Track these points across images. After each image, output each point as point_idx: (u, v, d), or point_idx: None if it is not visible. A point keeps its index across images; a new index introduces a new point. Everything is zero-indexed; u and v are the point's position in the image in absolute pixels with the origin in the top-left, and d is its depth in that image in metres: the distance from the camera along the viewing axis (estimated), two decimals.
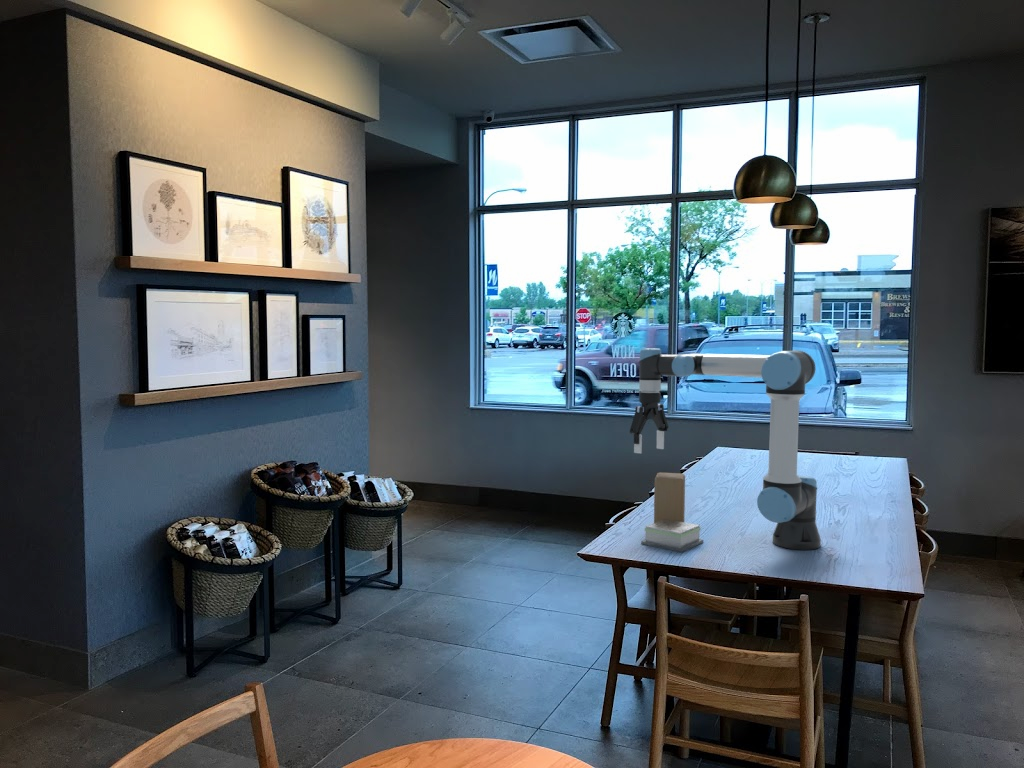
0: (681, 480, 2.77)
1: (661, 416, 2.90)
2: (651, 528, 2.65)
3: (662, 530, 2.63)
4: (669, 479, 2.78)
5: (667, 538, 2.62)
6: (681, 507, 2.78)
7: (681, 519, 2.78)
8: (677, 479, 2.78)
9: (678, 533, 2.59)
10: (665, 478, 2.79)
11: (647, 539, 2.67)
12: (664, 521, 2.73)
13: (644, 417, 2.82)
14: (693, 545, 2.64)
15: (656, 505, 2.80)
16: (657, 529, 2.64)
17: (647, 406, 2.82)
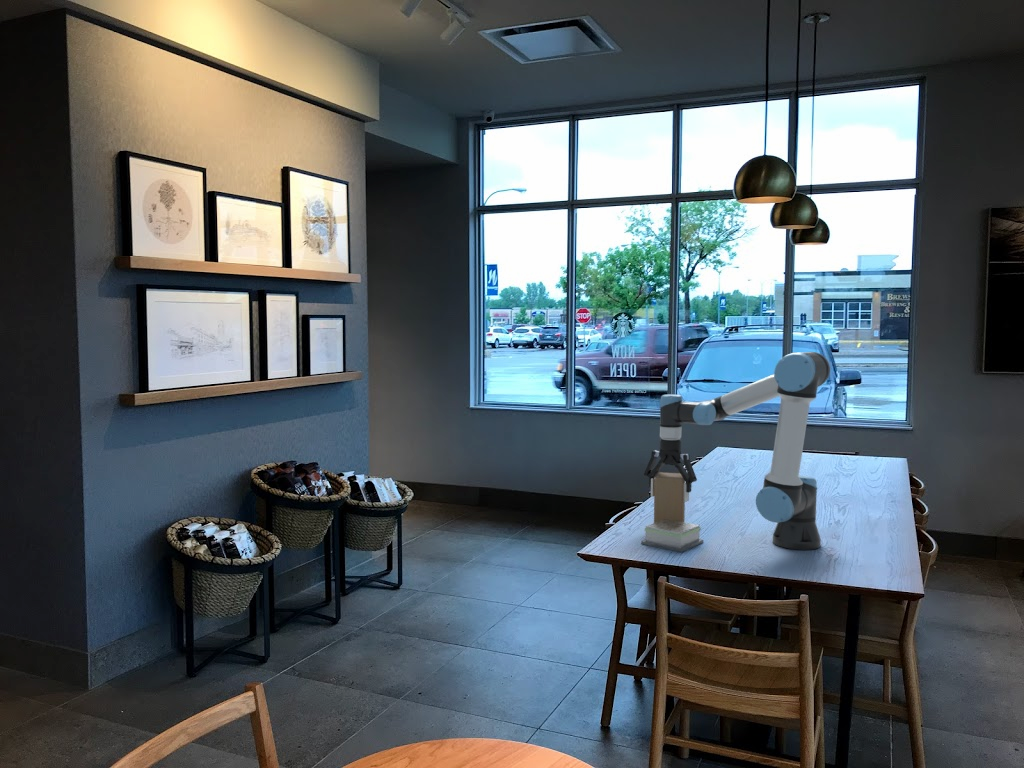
0: (681, 480, 2.77)
1: None
2: (651, 528, 2.65)
3: (662, 530, 2.63)
4: (669, 479, 2.78)
5: (667, 538, 2.62)
6: (681, 507, 2.78)
7: (681, 519, 2.78)
8: (677, 479, 2.78)
9: (678, 533, 2.59)
10: (665, 478, 2.79)
11: (647, 539, 2.67)
12: (664, 521, 2.73)
13: None
14: (693, 545, 2.64)
15: (656, 505, 2.80)
16: (657, 529, 2.64)
17: (661, 451, 2.83)
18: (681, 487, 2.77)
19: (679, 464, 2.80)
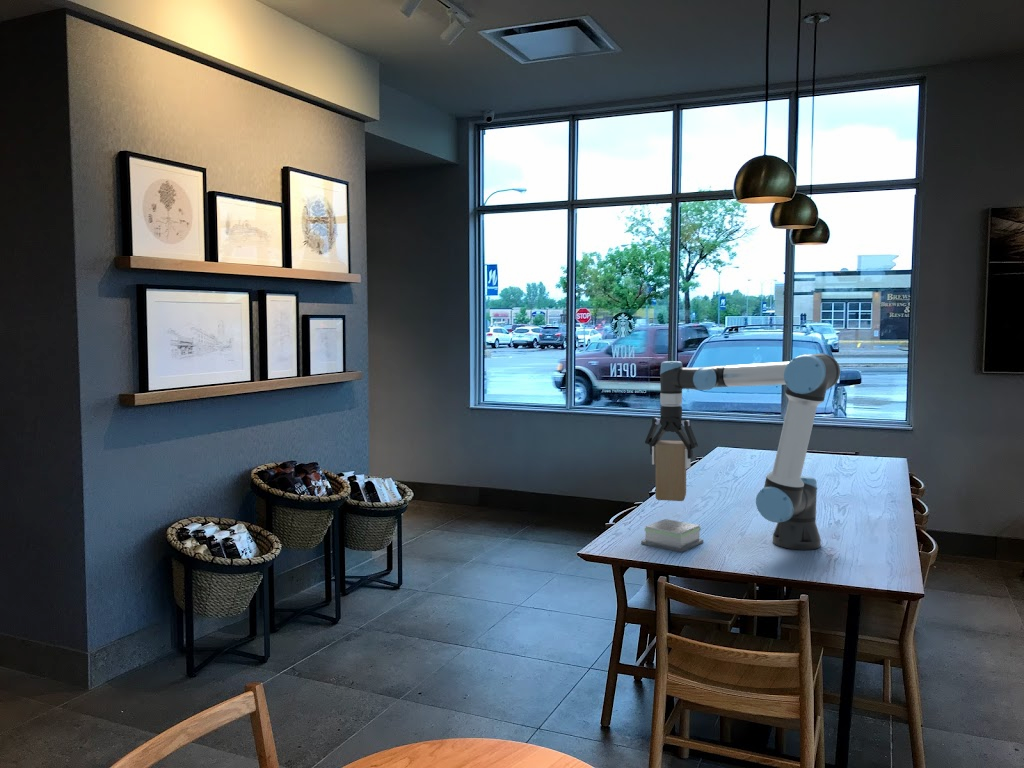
0: (682, 446, 2.76)
1: None
2: (651, 528, 2.65)
3: (662, 530, 2.63)
4: (670, 445, 2.77)
5: (667, 538, 2.62)
6: (682, 473, 2.77)
7: (683, 486, 2.77)
8: (678, 445, 2.77)
9: (678, 533, 2.59)
10: (666, 445, 2.78)
11: (647, 539, 2.67)
12: (664, 521, 2.73)
13: None
14: (693, 545, 2.64)
15: (657, 472, 2.79)
16: (657, 529, 2.64)
17: (662, 419, 2.82)
18: (682, 453, 2.76)
19: (680, 430, 2.79)
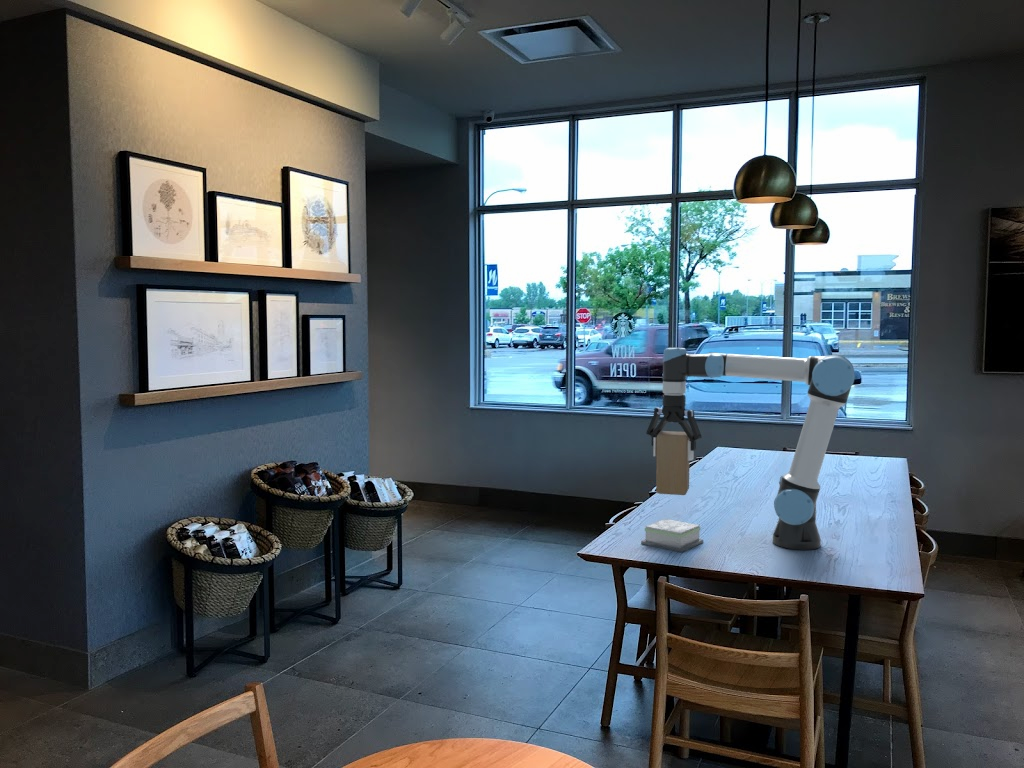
0: (685, 437, 2.62)
1: None
2: (651, 528, 2.65)
3: (662, 530, 2.63)
4: (672, 436, 2.63)
5: (667, 538, 2.62)
6: (685, 466, 2.62)
7: (685, 479, 2.63)
8: (680, 436, 2.62)
9: (678, 533, 2.59)
10: (668, 435, 2.64)
11: (647, 539, 2.67)
12: (664, 521, 2.73)
13: None
14: (693, 545, 2.64)
15: (658, 464, 2.65)
16: (657, 529, 2.64)
17: (664, 408, 2.68)
18: (685, 445, 2.62)
19: (683, 421, 2.64)
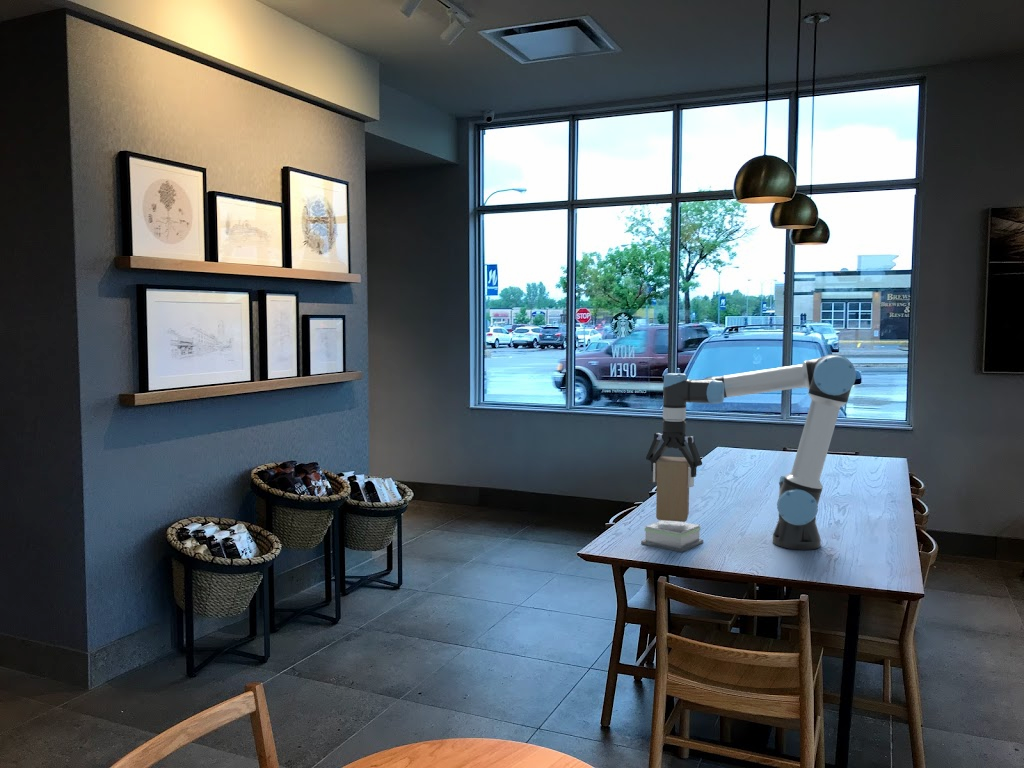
0: (685, 464, 2.60)
1: None
2: (651, 528, 2.65)
3: (662, 530, 2.63)
4: (672, 463, 2.61)
5: (667, 538, 2.62)
6: (685, 493, 2.61)
7: (685, 505, 2.61)
8: (681, 463, 2.61)
9: (678, 533, 2.59)
10: (668, 462, 2.62)
11: (647, 539, 2.67)
12: (664, 521, 2.73)
13: None
14: (693, 545, 2.64)
15: (659, 491, 2.63)
16: (657, 529, 2.64)
17: (664, 434, 2.66)
18: (685, 471, 2.60)
19: (683, 447, 2.63)
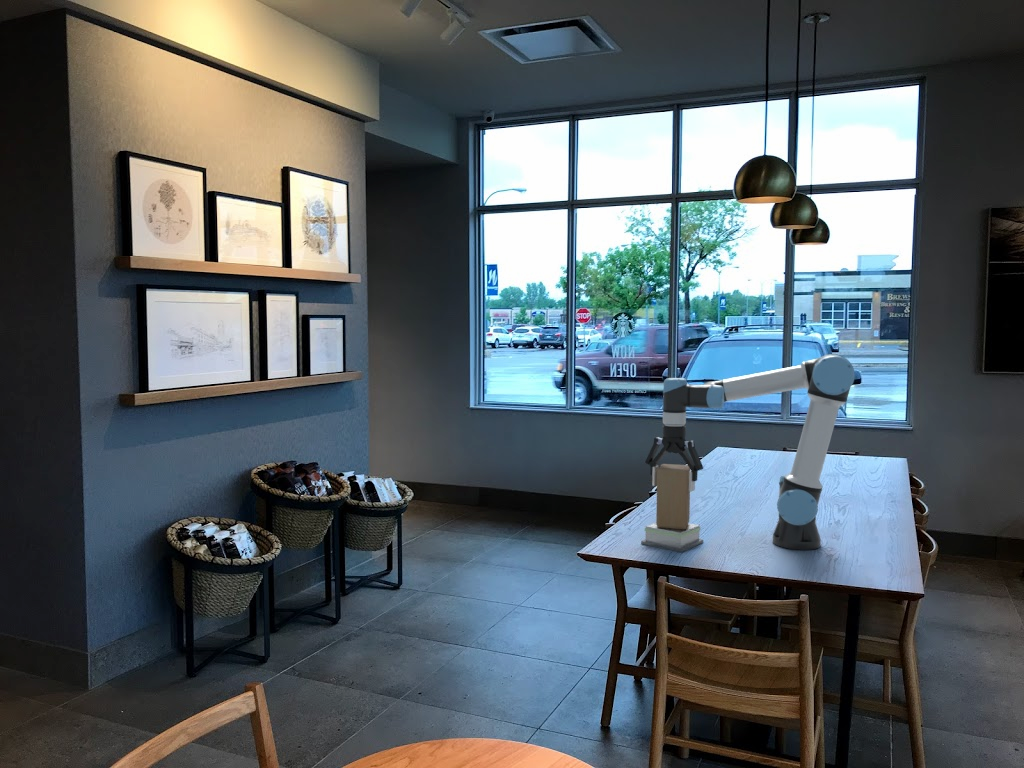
0: (685, 472, 2.60)
1: None
2: (651, 528, 2.65)
3: (662, 530, 2.63)
4: (672, 471, 2.61)
5: (667, 538, 2.62)
6: (685, 500, 2.61)
7: (685, 513, 2.61)
8: (681, 471, 2.61)
9: (678, 533, 2.59)
10: (668, 469, 2.62)
11: (647, 539, 2.67)
12: None
13: None
14: (693, 545, 2.64)
15: (659, 498, 2.63)
16: (657, 529, 2.64)
17: (664, 439, 2.66)
18: (685, 479, 2.60)
19: (684, 452, 2.63)
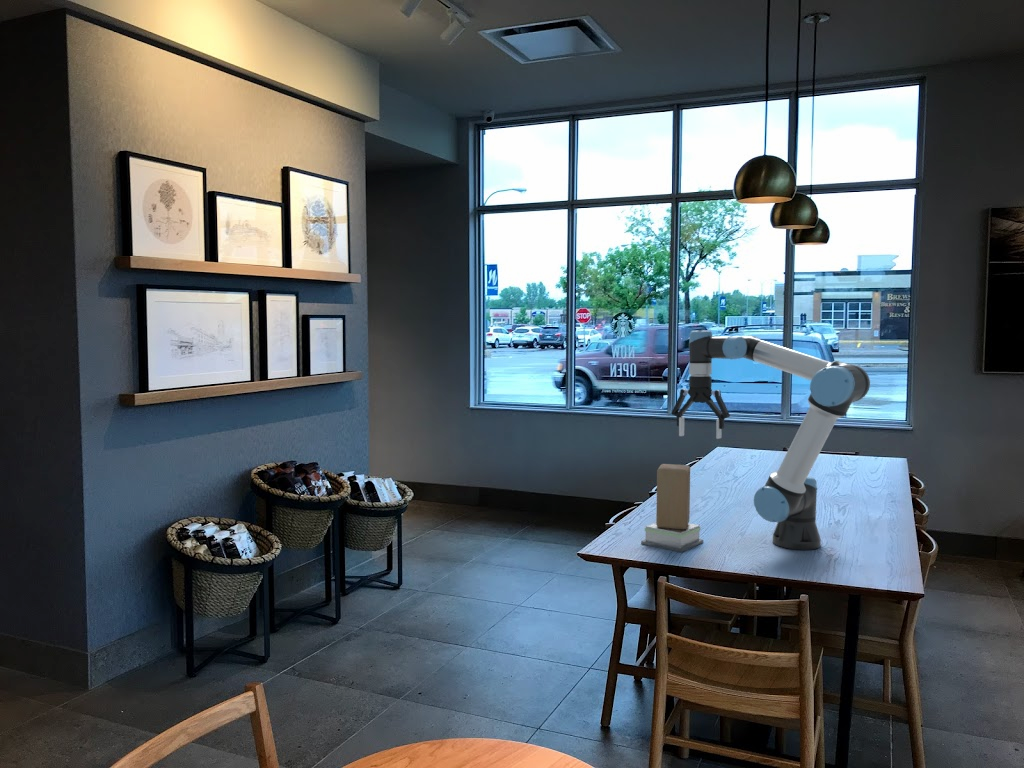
0: (685, 472, 2.60)
1: None
2: (651, 528, 2.65)
3: (662, 530, 2.63)
4: (672, 471, 2.61)
5: (667, 538, 2.62)
6: (685, 500, 2.61)
7: (685, 513, 2.61)
8: (681, 471, 2.61)
9: (678, 533, 2.59)
10: (668, 469, 2.62)
11: (647, 539, 2.67)
12: None
13: None
14: (693, 545, 2.64)
15: (659, 498, 2.63)
16: (657, 529, 2.64)
17: (691, 389, 2.76)
18: (685, 479, 2.60)
19: (710, 401, 2.72)
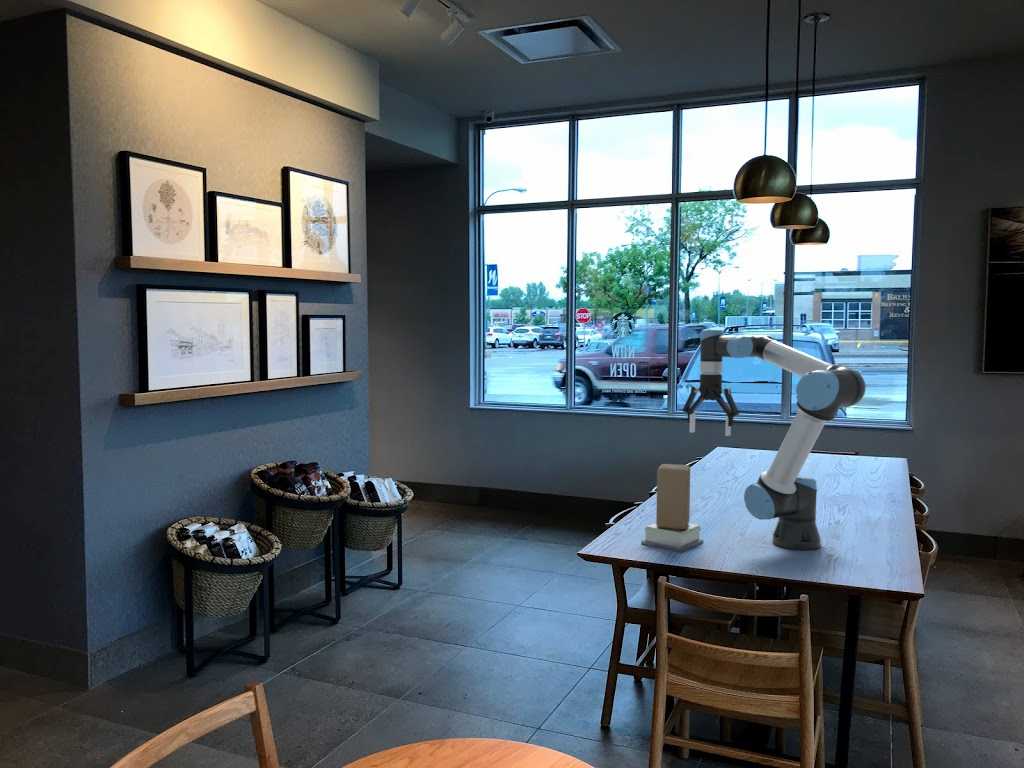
0: (685, 472, 2.60)
1: None
2: (651, 528, 2.65)
3: (662, 530, 2.63)
4: (672, 471, 2.61)
5: (667, 538, 2.62)
6: (685, 500, 2.61)
7: (685, 513, 2.61)
8: (681, 471, 2.61)
9: (678, 533, 2.59)
10: (668, 469, 2.62)
11: (647, 539, 2.67)
12: None
13: None
14: (693, 545, 2.64)
15: (659, 498, 2.63)
16: (657, 529, 2.64)
17: (701, 387, 2.81)
18: (685, 479, 2.60)
19: (720, 399, 2.77)
